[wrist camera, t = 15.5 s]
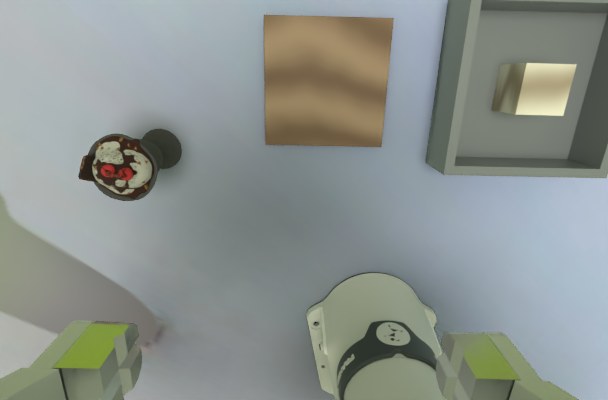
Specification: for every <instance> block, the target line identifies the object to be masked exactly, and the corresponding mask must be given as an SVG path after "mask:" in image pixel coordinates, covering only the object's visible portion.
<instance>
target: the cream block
mask: <svg viewBox="0 0 608 400" xmlns="http://www.w3.org/2000/svg"><path fill="white" fill-rule="evenodd" d="M576 66H577V64H547V63H518V64H502V65H500V68H499V73H498V78H497V83H496V88H495V93H494V98H493V103H492V108H491V110H492V111H498V112H504V113H509V114H515V115H549V116H563V115H564V111H565V107H566V103H567V100H568V96H569V92H570V88H571V84H572V81H573V77H574V73H575V69H576Z"/></svg>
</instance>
